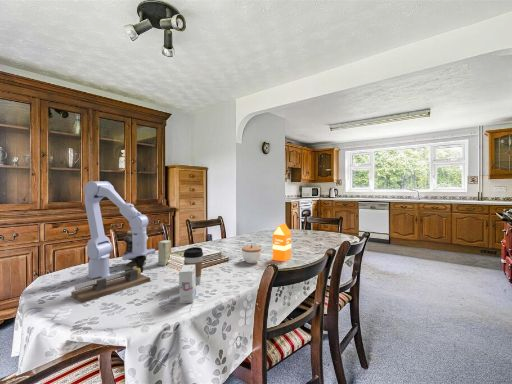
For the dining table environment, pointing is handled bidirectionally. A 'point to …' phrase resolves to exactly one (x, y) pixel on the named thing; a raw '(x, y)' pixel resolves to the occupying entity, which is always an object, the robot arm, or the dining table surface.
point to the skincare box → (164, 252)
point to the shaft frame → (109, 286)
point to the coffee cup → (194, 260)
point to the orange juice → (282, 243)
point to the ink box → (187, 284)
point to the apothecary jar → (130, 248)
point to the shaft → (107, 278)
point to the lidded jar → (251, 253)
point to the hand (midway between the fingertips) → (139, 272)
